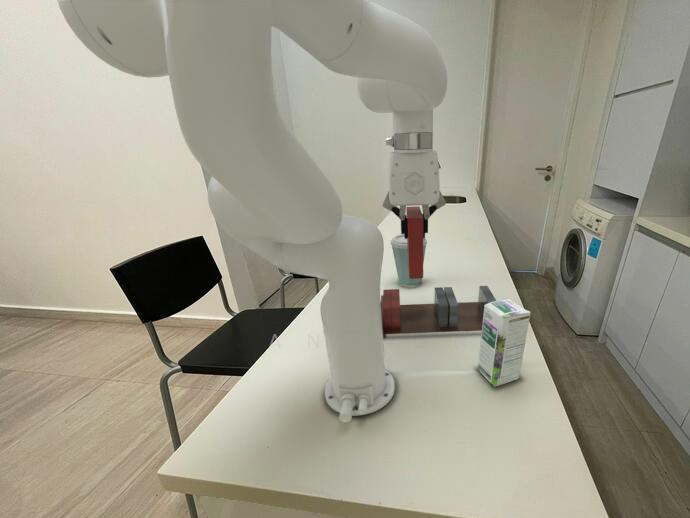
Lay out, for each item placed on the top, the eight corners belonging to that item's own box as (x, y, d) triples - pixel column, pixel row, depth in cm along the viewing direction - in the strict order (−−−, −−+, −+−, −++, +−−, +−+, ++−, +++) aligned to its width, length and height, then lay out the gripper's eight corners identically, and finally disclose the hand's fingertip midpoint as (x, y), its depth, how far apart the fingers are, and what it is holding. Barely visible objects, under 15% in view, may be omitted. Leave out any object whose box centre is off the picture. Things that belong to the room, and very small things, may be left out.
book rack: (502, 333, 75) (505, 307, 72) (380, 338, 75) (378, 312, 72) (487, 304, 88) (489, 282, 85) (382, 308, 88) (380, 286, 85)
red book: (423, 278, 71) (423, 217, 65) (409, 279, 71) (408, 218, 65) (419, 260, 80) (419, 206, 74) (407, 261, 80) (406, 206, 74)
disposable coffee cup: (400, 293, 96) (399, 243, 89) (387, 280, 105) (384, 233, 98) (433, 286, 100) (433, 237, 93) (416, 274, 108) (416, 229, 102)
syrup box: (476, 369, 64) (482, 303, 58) (501, 361, 66) (510, 297, 60) (494, 388, 60) (503, 318, 53) (520, 379, 62) (532, 310, 55)
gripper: (369, 145, 60) (376, 243, 69) (459, 142, 60) (454, 240, 69) (372, 144, 67) (377, 233, 75) (452, 141, 67) (449, 230, 75)
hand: (414, 235), depth 72 cm, fingers closed on red book, 3 cm apart
